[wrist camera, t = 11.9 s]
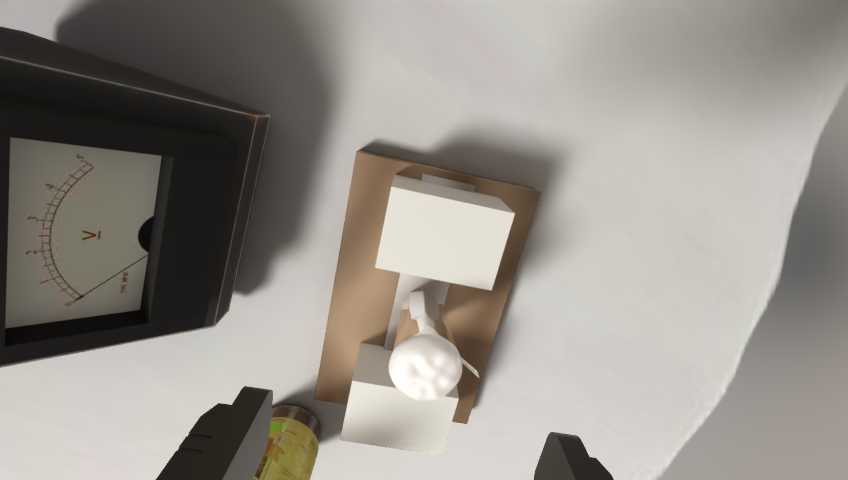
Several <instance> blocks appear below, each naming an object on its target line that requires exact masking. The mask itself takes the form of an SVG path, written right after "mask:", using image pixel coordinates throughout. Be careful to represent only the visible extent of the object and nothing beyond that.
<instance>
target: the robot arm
mask: <svg viewBox="0 0 848 480" xmlns="http://www.w3.org/2000/svg"><path fill="white" fill-rule="evenodd" d="M272 400H273V391H272V390H268V389H261V388H254V387H247V386H245V387H243V388H242V390H241V391H240V393H239V394H238V396H237V398H236V399H235V401H234V402H233V404H232V405H227V404H220V403H218V404H217V405H216V406H214V407H213V408H212V409H210V410H209V411H207V412H206V413H205V414H203V415H202V416H201V417H200V418H199V420H198V421H197V422H196V424H195V425H194V427H193V428H192V429H191V431H190V432H189V435H188V437H186V438H185V439H184V441H183V442H182V444H181V445H180V446H179V449H178V451H176V452H175V453H174V455H173V456H172V458H171V459H170V460H169V462H168V463H167V465H166V466H165V468H164V469H163V470H162V472H161V473H160V475H159V476H158V477H157V479H156V480H253V479H254V477H255V474H256V472H257V470H258V468H259V465H260V463H261V461H262V459H263V456H264V453H265V451H266V447H267V444H268V439H269V434H270V423H271V412H272ZM534 480H614V479H613V477H612V475H611V474H610V473H609V472H608V471H607V470H606V469H605V467H604V466H603V465H602V464H601V463H600V462H599V461H598V460H597V459H596V458H592V457H589V455H588V453H587V451H586V449H585V447H584V445H583V443H582V441H581V439H580V438H579V437H578V436H576V435H569V434H562V433H555V432H551V433H550V434H549V435H548V437H547V440H546V442H545V445H544V448H543V451H542V453H541V456H540V459H539V462H538V465H537V467H536V470H535V475H534Z"/></svg>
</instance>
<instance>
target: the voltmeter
mask: <svg viewBox="0 0 848 480" xmlns="http://www.w3.org/2000/svg"><path fill="white" fill-rule="evenodd" d="M270 116H271V115H269V114H266V113H263V112H260V111H257V110H254V109H251V108H248V107H245V106H242V105H239V104H236V103H234V102H231V101H228V100H225V99H222V98H219V97H216V96H213V95H210V94H207V93H204V92H201V91H198V90H195V89H192V88H189V87H186V86H184V85H181V84H178V83H175V82H172V81H169V80H166V79H163V78H160V77H157V76H154V75H151V74H148V73H145V72H142V71H139V70H136V69H133V68H131V67H128V66H125V65H122V64H119V63H116V62H113V61H110V60H107V59H104V58H101V57H98V56H95V55H92V54H89V53H86V52H83V51H80V50H78V49H75V48H72V47H69V46H66V45H63V44H60V43H57V42H54V41H51V40H48V39H45V38H42V37H39V36H36V35H33V34H30V33H27V32H24V31H19V30H14V29H9V28H4V27H0V368H1V367H6V366H11V365H17V364H22V363H27V362H32V361H38V360H43V359H48V358H53V357H59V356H64V355H69V354H74V353H80V352H85V351H90V350H95V349H101V348H106V347H111V346H116V345H122V344H127V343H132V342H137V341H143V340H148V339H153V338H158V337H164V336H169V335H174V334H179V333H185V332H190V331H195V330H200V329H206V328H211V327H214V326H215V325H216V324H217V323H218V322H219V321H220V320H221V319H222V318H223V317H224V315H225V314H226V313H227V312H228V311H229V307H230V303H231V298H232V293H233V289H234V284H235V279H236V275H237V270H238V266H239V261H240V256H241V252H242V247H243V243H244V238H245V233H246V229H247V224H248V219H249V215H250V210H251V205H252V201H253V196H254V191H255V186H256V182H257V177H258V172H259V168H260V163H261V158H262V154H263V149H264V144H265V139H266V135H267V130H268V125H269V121H270Z"/></svg>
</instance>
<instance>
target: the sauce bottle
mask: <svg viewBox="0 0 848 480" xmlns="http://www.w3.org/2000/svg"><path fill="white" fill-rule="evenodd" d="M320 436H321V426H320V423H319V422H318V420H317V419H316V418H315V417H314V415H313V414H312V413H311V412H310V411H307V410H305V409H303V408H301V407H299V406H294V405H293V406H290V405H281V406H278V407H275V408H272V412H271V423H270V434H269V439H268V444H267V447H266V451H265V453H264V456H263V459H262V461H261V463H260V465H259V468H258V470H257V472H256V474H255V477H254V479H253V480H310V477H311V474H312V470H313V467H314V464H315V460H316V457H317V453H318V448H319V446H318V444H319V441H320Z"/></svg>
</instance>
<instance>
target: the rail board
mask: <svg viewBox="0 0 848 480" xmlns="http://www.w3.org/2000/svg"><path fill="white" fill-rule="evenodd" d="M394 175H400V176H405V177H409V178H414V179H418V180H421V181H423V182H428V183H432V184H437V185H441V186H446V187H451V188H455V189H460V190H464V191H469V192H473V193H474V192H477V193H482V194H486V195H491V196H495V197H499V198H500V199H501V200H502V201H503V202H504V203H505V204H506V205H507V206H508V207H509V208H510V209H511V210H512V211H513V212H514V213H515V215H514V218H513V222H512V225H511V228H510V232H509V235H508V238H507V242H506V245H505V248H504V251H503V255H502V258H501V261H500V265H499V268H498V271H497V275H496V278H495V281H494V284H493V288H492V291H491V290H486V289H480V288H475V287H470V286H465V285H460V284H455V283H450V282H445V281H440V280H435V279H430V278H424V277H419V276H414V275H409V274H404V273H399V272H394V271H389V270H384V269H379V268H375V265H376V260H377V255H378V250H379V245H380V240H381V235H382V230H383V225H384V220H385V215H386V210H387V205H388V200H389V195H390V190H391V186H392V182H393V178H394ZM539 196H540V192H538V191H537V190H535V189H532V188H527V187H523V186H518V185H514V184H509V183H505V182H500V181H496V180H492V179H487V178H483V177H478V176H474V175H469V174H465V173H460V172H456V171H451V170H447V169H442V168H438V167H434V166H429V165H425V164H420V163H416V162H411V161H407V160H402V159H398V158H393V157H389V156H385V155H380V154H376V153H371V152H367V151H362V150H358V151H357V152H356V158H355V164H354V169H353V175H352V181H351V187H350V193H349V199H348V205H347V210H346V216H345V222H344V228H343V234H342V240H341V246H340V251H339V257H338V263H337V269H336V275H335V281H334V287H333V292H332V298H331V304H330V310H329V316H328V322H327V328H326V333H325V339H324V345H323V351H322V357H321V363H320V369H319V374H318V380H317V386H316V392H315V398H314V399H316V400H322V401H328V402H335V403H341V404H347V403H348V399H349V394H350V389H351V384H352V379H353V374H354V370H355V365H356V361H357V356H358V352H359V347H360V343H366V344H372V345H378V346H383V347H384V349H385V350H390V351H392V349H393V345H394V341H395V337H396V333H397V328H398V323H399V318H400V313H401V309H402V304H403V301H404V300H405V298H406V297H407V296H408V295H409V294H410V292H413V291H417V290H420V289H425V290H428V291H432V292H435V293H436V295H437V296H438V297H439V299H440V300H441V301H442V303H443V307H444V310H445V313H446V316H447V319H448V322H449V326H450V329H451V332H452V335H453V338H454V341H455V343H456V346H457V349H458V351H459V354H460V356H461V357H462V358H463V359H464V360H465V361H466V362H467V363H469V364H470V365H471V366H472V367H473V368H474V369H475V370H476V371H477V372H478V374H479V377H480V378H478V377H477V376H476V375H475V374H474V373H473V372H472V371H471V370H470V369H468V368H467V367H466V366H465V365H464V364H463V363H462V374H461V378H460V380H459V382H458V383H457V390H458V396H459V400H458V403H457V407H456V410H455V413H454V416H453V420H452V422H458V423H464V424H467V422H468V419H469V416H470V413H471V410H472V406H473V403H474V400H475V397H476V394H477V391H478V388H479V384H480V381H481V378H482V375H483V372H484V369H485V366H486V362H487V359H488V356H489V353H490V350H491V347H492V343H493V340H494V337H495V334H496V331H497V328H498V325H499V321H500V318H501V315H502V312H503V309H504V306H505V303H506V299H507V296H508V293H509V290H510V287H511V284H512V281H513V277H514V274H515V271H516V268H517V265H518V262H519V259H520V255H521V252H522V249H523V246H524V243H525V240H526V237H527V233H528V230H529V227H530V224H531V221H532V218H533V214H534V211H535V208H536V205H537V202H538V199H539Z"/></svg>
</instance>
